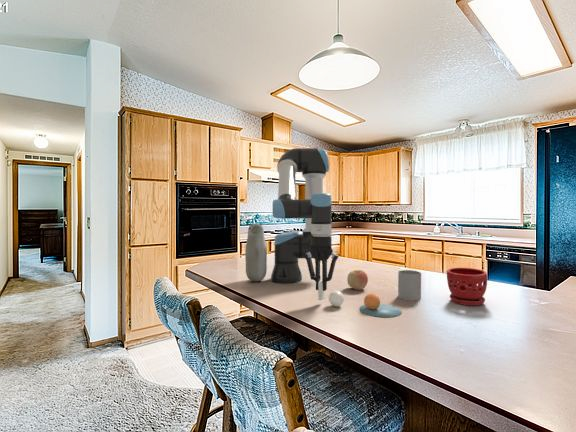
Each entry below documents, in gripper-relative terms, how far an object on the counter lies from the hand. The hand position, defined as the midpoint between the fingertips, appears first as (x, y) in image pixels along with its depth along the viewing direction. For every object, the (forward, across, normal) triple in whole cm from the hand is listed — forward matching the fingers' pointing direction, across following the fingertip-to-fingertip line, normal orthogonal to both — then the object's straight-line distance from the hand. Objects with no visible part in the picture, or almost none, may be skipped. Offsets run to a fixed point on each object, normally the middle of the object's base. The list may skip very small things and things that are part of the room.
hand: (321, 299), depth 117 cm
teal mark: (+2, +21, 0) cm, 21 cm away
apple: (+2, +10, +26) cm, 28 cm away
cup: (+2, +31, +20) cm, 37 cm away
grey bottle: (+2, -38, +25) cm, 46 cm away
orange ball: (-1, +18, 0) cm, 18 cm away
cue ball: (-1, +6, 0) cm, 6 cm away
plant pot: (+2, +51, +20) cm, 55 cm away
